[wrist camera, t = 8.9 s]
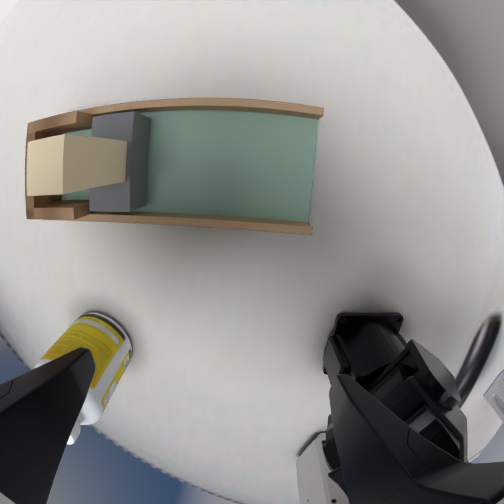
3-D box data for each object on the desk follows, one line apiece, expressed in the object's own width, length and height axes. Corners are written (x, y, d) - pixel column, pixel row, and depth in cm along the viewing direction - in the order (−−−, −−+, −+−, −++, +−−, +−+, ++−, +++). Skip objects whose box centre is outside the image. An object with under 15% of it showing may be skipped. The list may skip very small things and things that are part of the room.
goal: (103, 117, 16) (77, 110, 12) (100, 210, 18) (74, 220, 14) (55, 125, 16) (28, 123, 12) (54, 210, 18) (26, 218, 14)
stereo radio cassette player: (292, 457, 29) (304, 580, 10) (312, 426, 26) (337, 576, 7) (411, 444, 30) (446, 533, 11) (438, 413, 27) (487, 508, 8)
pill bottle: (75, 301, 21) (1, 375, 10) (133, 320, 22) (71, 417, 11) (83, 353, 23) (29, 427, 12) (136, 371, 24) (94, 462, 13)
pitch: (314, 115, 17) (323, 107, 14) (304, 226, 19) (311, 235, 17) (63, 120, 16) (45, 118, 14) (61, 213, 19) (43, 219, 16)
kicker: (150, 118, 16) (75, 89, 7) (146, 205, 17) (70, 239, 9) (112, 121, 15) (28, 104, 7) (109, 204, 17) (26, 235, 9)
